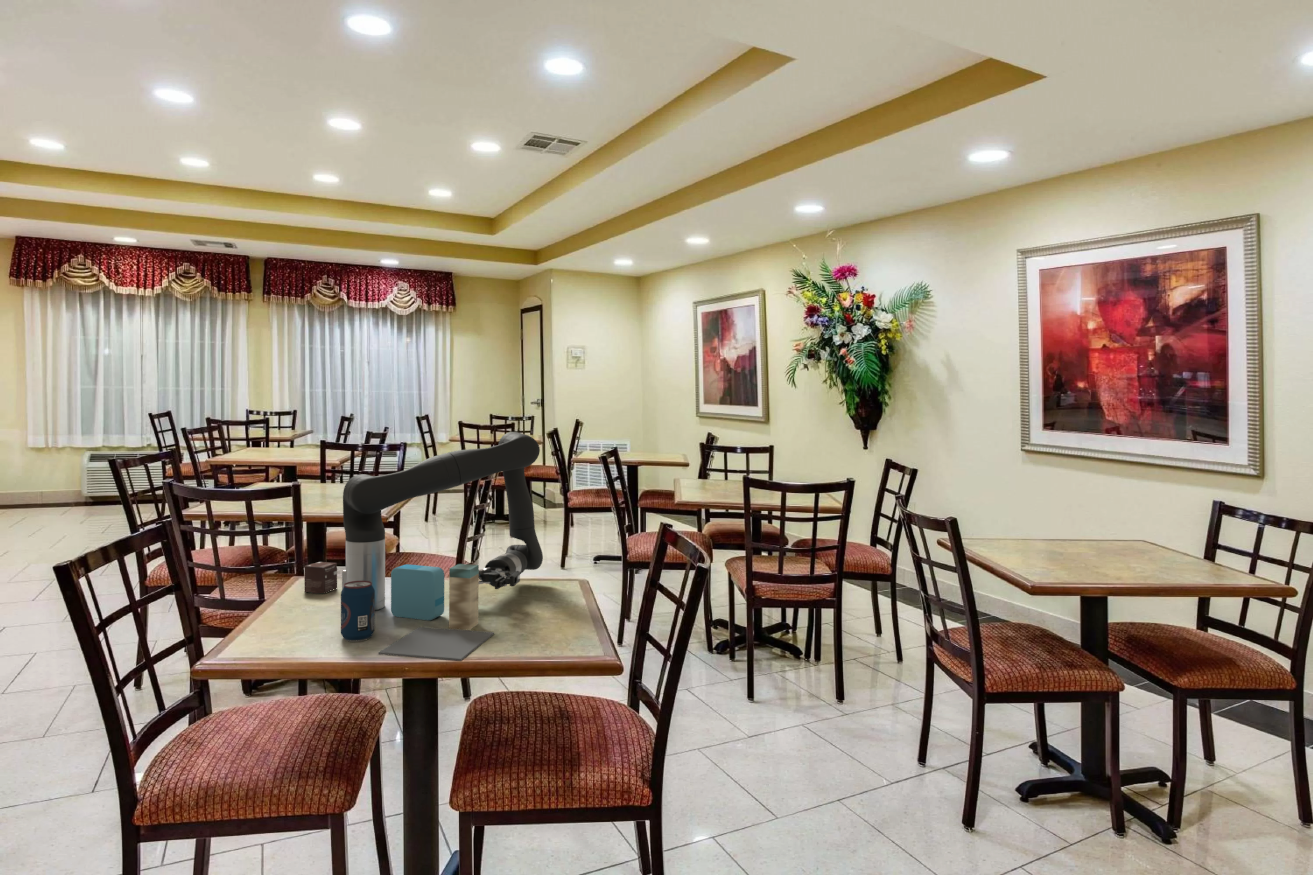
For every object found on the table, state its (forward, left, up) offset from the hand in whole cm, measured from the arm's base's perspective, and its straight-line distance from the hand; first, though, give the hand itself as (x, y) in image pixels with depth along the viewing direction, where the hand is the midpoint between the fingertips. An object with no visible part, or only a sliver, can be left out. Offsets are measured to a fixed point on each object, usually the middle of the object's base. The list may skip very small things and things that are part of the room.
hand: (479, 583), depth 187 cm
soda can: (-19, -22, -8) cm, 30 cm away
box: (-50, +12, -8) cm, 52 cm away
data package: (-14, -4, -8) cm, 17 cm away
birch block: (0, -9, -8) cm, 12 cm away
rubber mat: (0, -22, -8) cm, 23 cm away
